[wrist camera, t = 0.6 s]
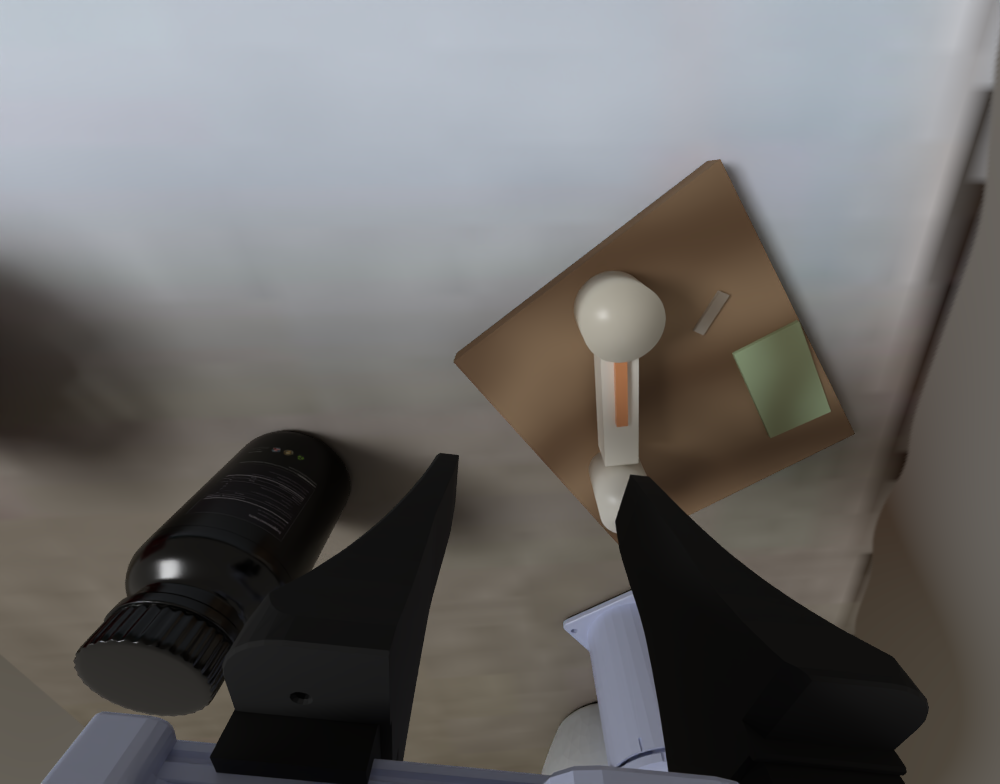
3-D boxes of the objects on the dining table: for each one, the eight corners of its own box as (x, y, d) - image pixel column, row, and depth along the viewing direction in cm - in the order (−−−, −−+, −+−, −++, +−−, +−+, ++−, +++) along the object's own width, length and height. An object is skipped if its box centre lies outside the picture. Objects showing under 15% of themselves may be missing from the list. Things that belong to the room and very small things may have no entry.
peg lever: (644, 485, 23) (664, 531, 20) (586, 491, 23) (597, 537, 20) (646, 265, 17) (674, 282, 14) (571, 276, 18) (582, 295, 15)
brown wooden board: (838, 421, 22) (857, 435, 21) (617, 533, 27) (622, 550, 25) (707, 161, 17) (722, 159, 16) (456, 353, 21) (453, 363, 20)
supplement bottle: (344, 526, 27) (233, 747, 16) (240, 497, 26) (51, 710, 16) (364, 446, 24) (245, 653, 13) (247, 410, 23) (19, 601, 13)
